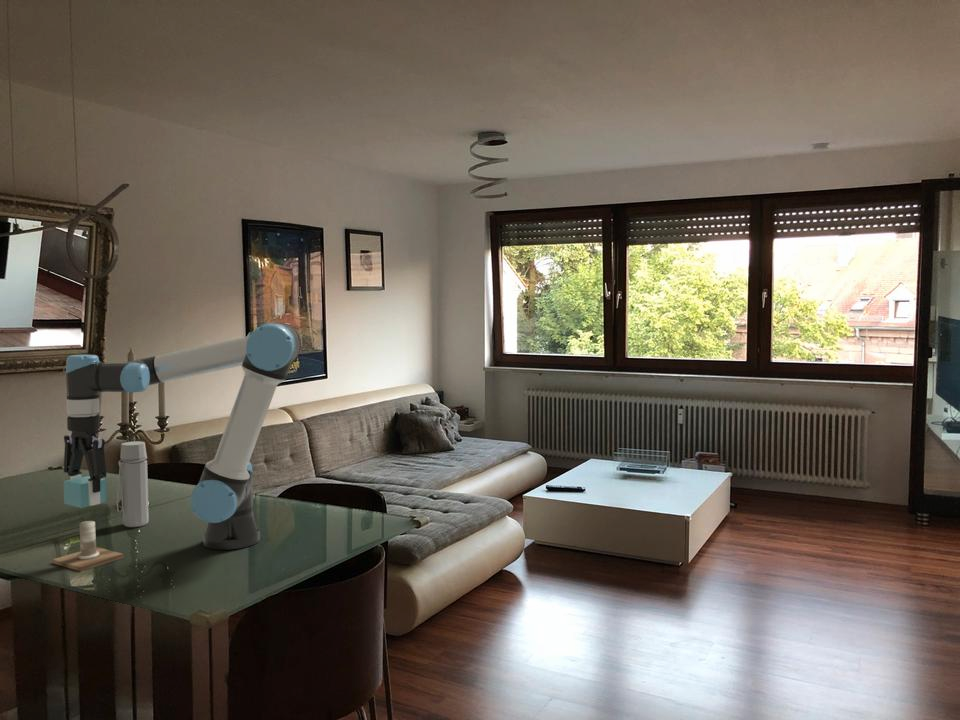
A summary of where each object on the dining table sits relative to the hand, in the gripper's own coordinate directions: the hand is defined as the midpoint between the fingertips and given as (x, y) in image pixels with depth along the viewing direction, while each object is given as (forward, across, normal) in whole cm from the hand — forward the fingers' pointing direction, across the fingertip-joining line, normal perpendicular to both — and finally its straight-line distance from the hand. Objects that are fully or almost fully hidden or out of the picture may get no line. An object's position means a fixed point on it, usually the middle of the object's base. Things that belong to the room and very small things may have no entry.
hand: (85, 502), depth 198 cm
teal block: (0, 0, 0) cm, 0 cm away
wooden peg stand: (+15, 0, 0) cm, 15 cm away
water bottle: (+16, +18, -26) cm, 35 cm away
